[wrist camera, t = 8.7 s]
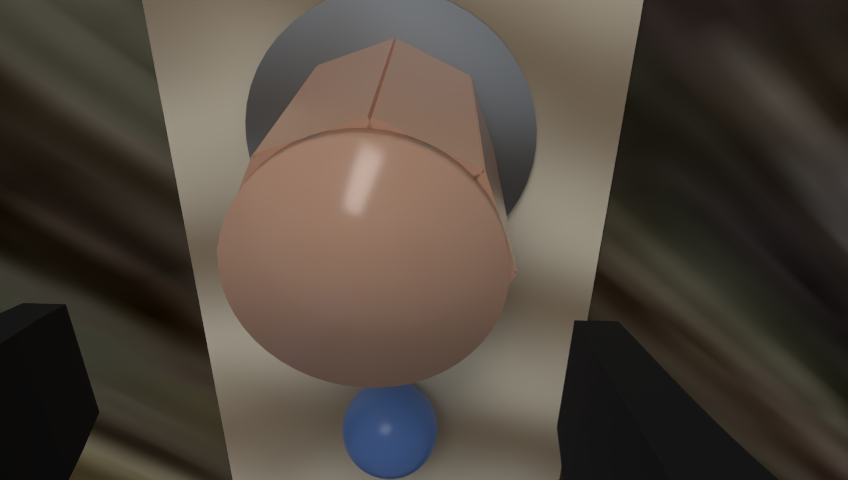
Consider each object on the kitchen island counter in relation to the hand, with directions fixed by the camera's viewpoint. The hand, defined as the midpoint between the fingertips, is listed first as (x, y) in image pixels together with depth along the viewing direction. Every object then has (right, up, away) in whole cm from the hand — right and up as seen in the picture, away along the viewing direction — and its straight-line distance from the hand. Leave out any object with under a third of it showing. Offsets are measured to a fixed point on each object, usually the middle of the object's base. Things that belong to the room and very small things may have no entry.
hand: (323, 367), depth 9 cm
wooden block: (+1, +4, +7) cm, 9 cm away
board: (+1, +1, +11) cm, 11 cm away
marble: (0, -4, +11) cm, 11 cm away
